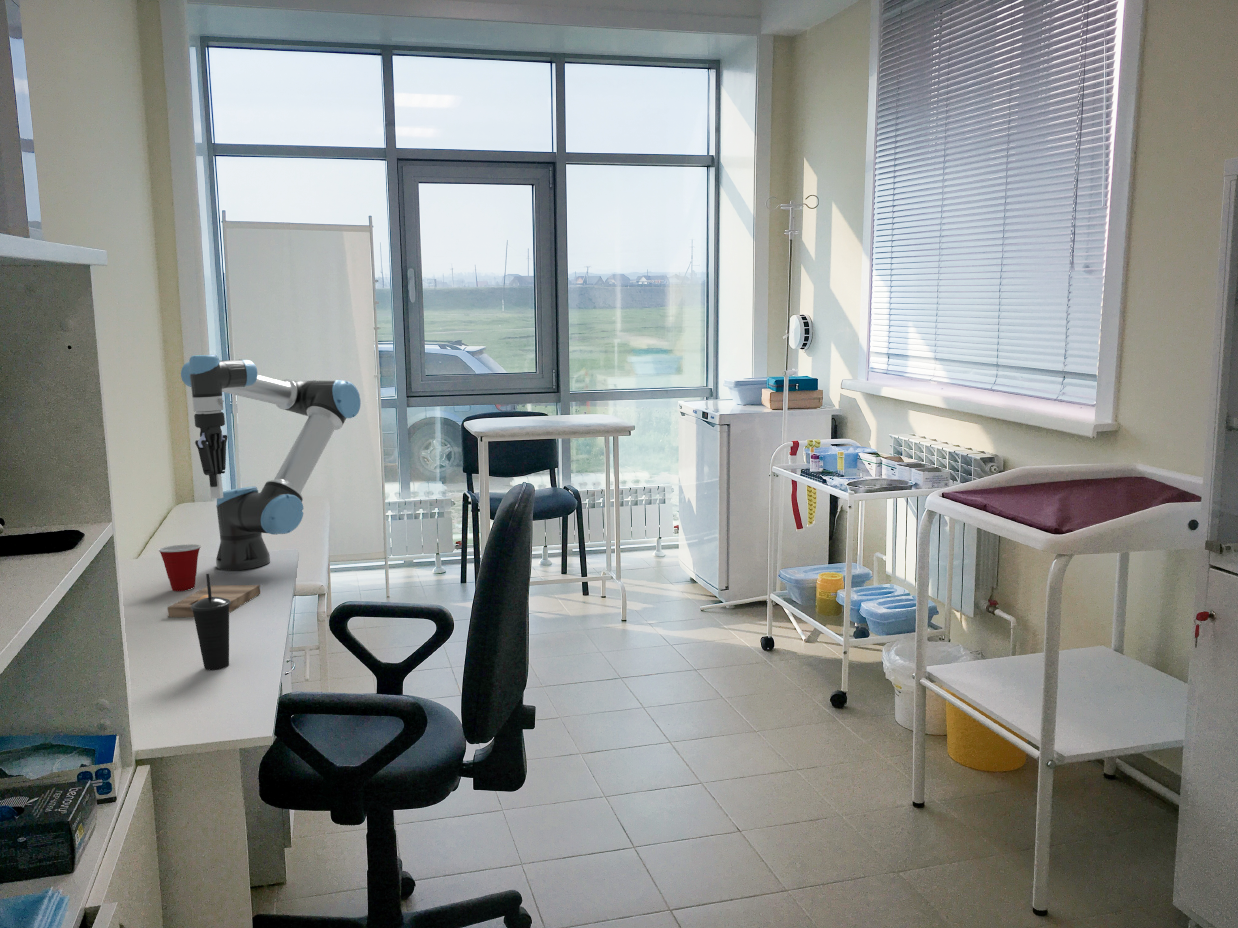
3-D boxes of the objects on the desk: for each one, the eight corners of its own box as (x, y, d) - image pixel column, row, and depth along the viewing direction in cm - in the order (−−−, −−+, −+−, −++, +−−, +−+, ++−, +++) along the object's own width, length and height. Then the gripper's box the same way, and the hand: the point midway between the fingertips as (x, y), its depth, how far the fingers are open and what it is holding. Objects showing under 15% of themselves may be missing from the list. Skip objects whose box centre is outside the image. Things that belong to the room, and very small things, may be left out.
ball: (197, 614, 247) (204, 603, 251) (213, 614, 247) (219, 603, 250) (192, 602, 245) (199, 591, 248) (208, 602, 245) (214, 591, 248)
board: (210, 594, 263) (209, 585, 263) (260, 594, 261) (259, 585, 261) (168, 617, 243) (167, 607, 243) (222, 617, 242) (221, 607, 241)
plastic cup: (212, 582, 275) (208, 541, 273) (192, 593, 264) (187, 550, 262) (175, 583, 276) (171, 541, 274) (154, 594, 265) (149, 550, 264)
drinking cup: (212, 675, 201) (202, 580, 198) (189, 669, 205) (179, 576, 202) (244, 663, 208) (235, 571, 205) (221, 657, 212) (212, 567, 209)
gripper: (209, 414, 259) (218, 502, 262) (234, 409, 272) (241, 493, 275) (182, 415, 260) (191, 502, 263) (208, 410, 273) (216, 493, 276)
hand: (217, 497), depth 269 cm, fingers closed
